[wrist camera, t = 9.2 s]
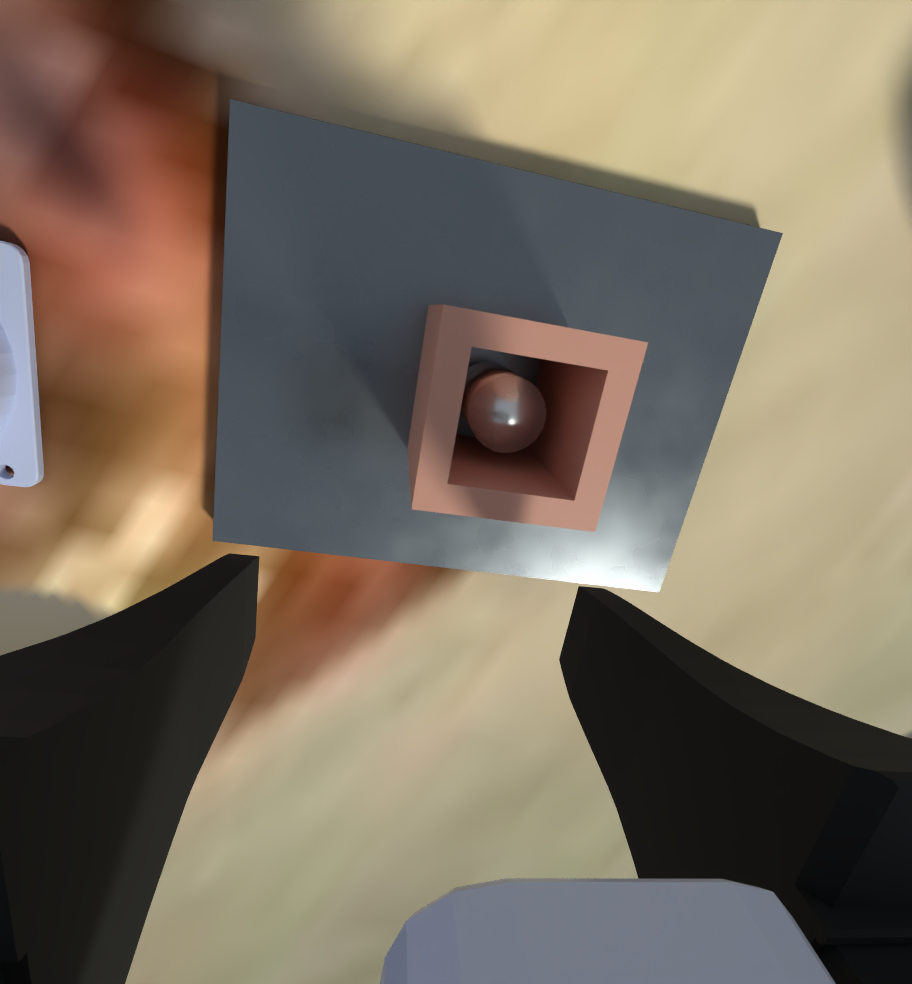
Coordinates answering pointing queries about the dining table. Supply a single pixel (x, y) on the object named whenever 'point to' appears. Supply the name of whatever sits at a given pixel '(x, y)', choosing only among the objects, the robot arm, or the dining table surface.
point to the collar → (559, 447)
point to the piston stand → (491, 374)
